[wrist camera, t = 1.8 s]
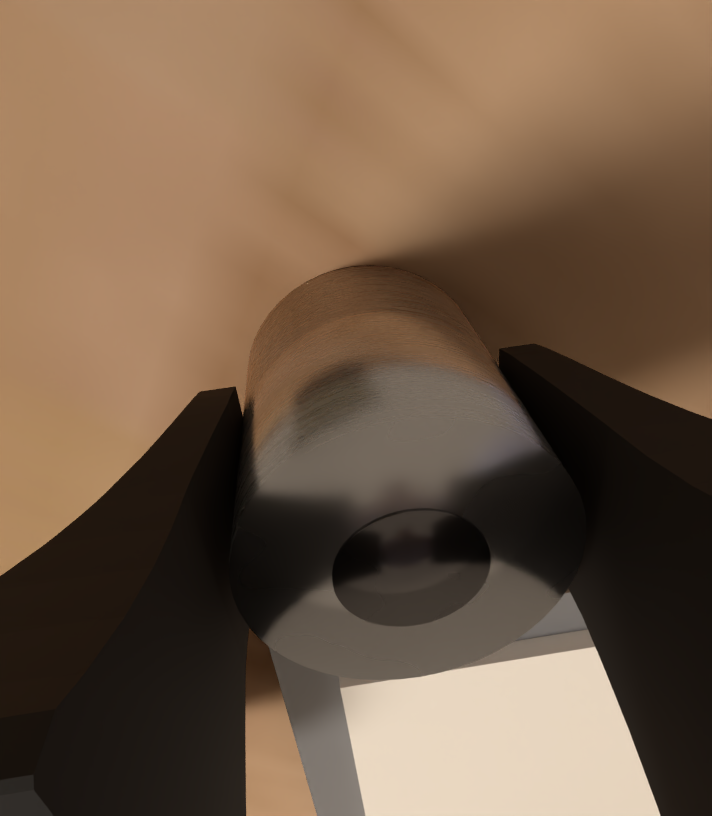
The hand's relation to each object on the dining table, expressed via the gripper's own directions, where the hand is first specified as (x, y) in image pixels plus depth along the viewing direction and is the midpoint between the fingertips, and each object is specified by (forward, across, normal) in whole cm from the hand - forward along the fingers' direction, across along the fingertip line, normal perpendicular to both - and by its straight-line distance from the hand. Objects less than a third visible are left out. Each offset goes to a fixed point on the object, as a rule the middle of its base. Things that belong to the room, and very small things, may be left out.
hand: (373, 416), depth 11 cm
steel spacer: (+1, 0, 0) cm, 1 cm away
